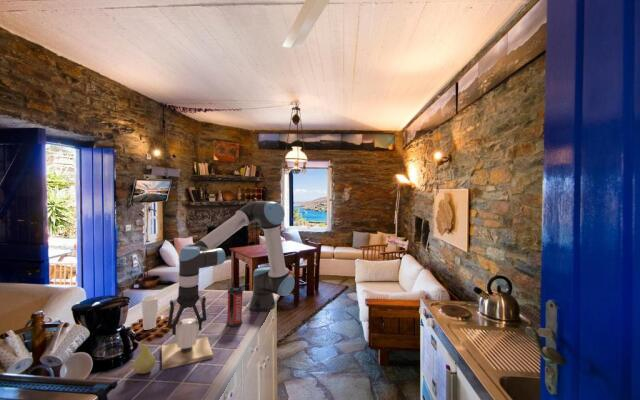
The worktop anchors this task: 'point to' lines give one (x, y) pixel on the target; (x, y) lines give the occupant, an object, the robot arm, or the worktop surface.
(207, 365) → the worktop surface
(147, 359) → the fruit
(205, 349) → the board
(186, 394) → the worktop surface
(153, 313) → the drinking glass
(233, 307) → the speaker
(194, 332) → the white domed knob
